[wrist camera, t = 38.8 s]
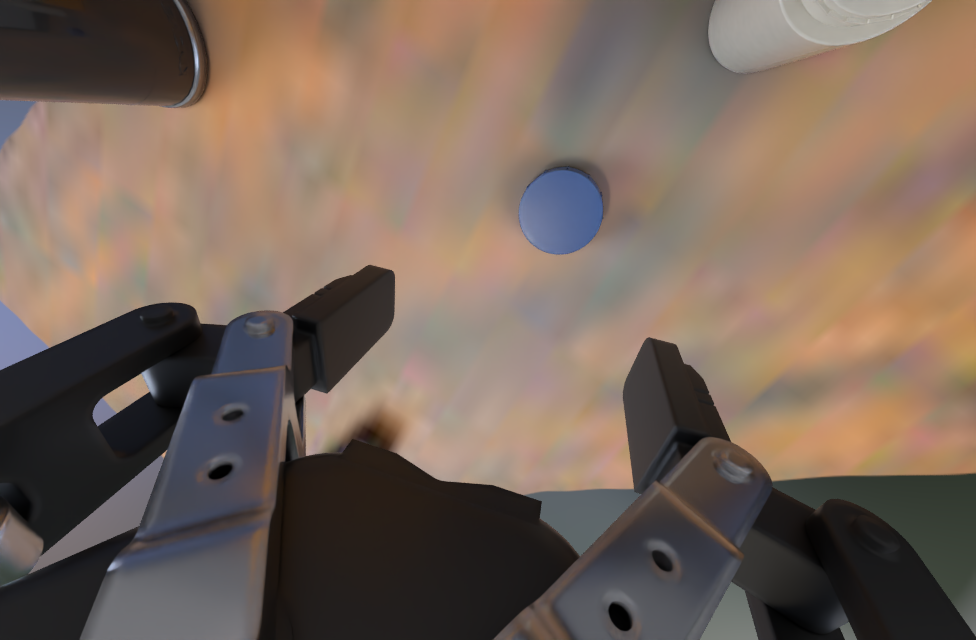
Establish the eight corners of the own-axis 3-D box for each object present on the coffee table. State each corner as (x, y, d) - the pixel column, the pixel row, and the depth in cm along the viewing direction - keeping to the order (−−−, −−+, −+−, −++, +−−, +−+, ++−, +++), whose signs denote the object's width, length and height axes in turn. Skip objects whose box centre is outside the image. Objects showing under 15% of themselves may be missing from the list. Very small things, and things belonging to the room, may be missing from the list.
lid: (580, 258, 28) (579, 266, 26) (512, 229, 28) (507, 236, 26) (617, 185, 25) (619, 189, 23) (540, 154, 25) (537, 156, 23)
